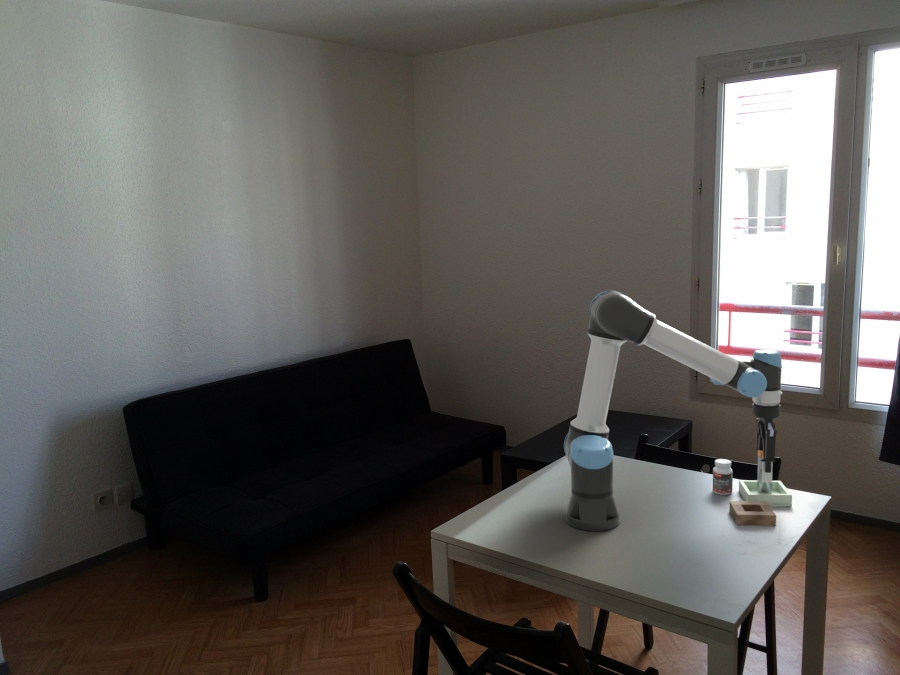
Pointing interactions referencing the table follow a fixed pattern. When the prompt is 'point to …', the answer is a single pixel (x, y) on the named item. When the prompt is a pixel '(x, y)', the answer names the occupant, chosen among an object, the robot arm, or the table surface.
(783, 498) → the tray
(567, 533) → the table surface
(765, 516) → the socket
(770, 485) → the pin
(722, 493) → the pill bottle
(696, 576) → the table surface
